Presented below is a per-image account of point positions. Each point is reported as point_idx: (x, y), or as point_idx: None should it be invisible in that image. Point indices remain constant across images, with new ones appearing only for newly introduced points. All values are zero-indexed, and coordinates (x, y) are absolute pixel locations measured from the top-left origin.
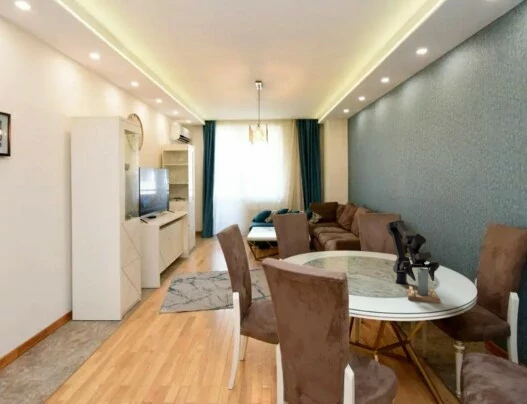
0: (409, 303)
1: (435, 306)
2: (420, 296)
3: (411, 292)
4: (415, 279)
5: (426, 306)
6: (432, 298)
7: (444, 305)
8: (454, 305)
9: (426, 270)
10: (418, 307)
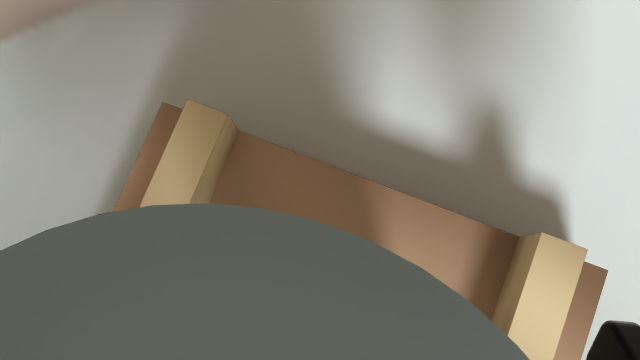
0: (612, 149)
1: (296, 33)
2: (403, 244)
3: (570, 295)
4: (619, 334)
5: (419, 36)
6: (252, 144)
7: (152, 63)
8: (19, 60)
9: (76, 300)
10: (547, 5)
